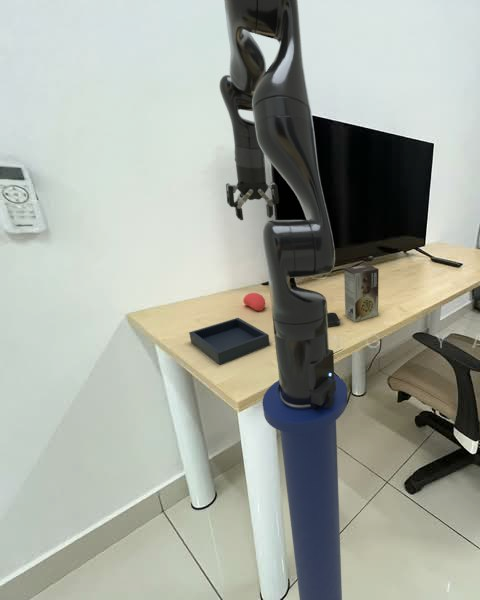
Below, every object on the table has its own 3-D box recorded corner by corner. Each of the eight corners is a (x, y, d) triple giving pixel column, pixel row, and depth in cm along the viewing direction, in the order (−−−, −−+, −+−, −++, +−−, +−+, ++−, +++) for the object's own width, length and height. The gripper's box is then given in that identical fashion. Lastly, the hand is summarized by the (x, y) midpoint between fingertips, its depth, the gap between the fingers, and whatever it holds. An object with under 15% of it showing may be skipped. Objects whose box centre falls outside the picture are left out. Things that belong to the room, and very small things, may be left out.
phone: (340, 321, 94) (288, 328, 88) (340, 325, 94) (288, 331, 88) (335, 312, 100) (286, 317, 95) (335, 315, 101) (286, 320, 95)
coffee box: (367, 309, 107) (367, 263, 101) (378, 315, 102) (379, 268, 97) (344, 315, 101) (343, 267, 95) (355, 322, 97) (354, 272, 91)
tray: (269, 345, 81) (268, 334, 80) (219, 365, 72) (217, 353, 71) (239, 327, 90) (238, 317, 89) (191, 342, 81) (188, 332, 79)
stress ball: (263, 305, 109) (253, 290, 107) (271, 304, 102) (260, 288, 100) (250, 314, 106) (239, 298, 104) (257, 313, 99) (245, 296, 97)
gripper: (227, 166, 81) (235, 225, 90) (280, 166, 90) (283, 220, 99) (218, 159, 86) (226, 215, 95) (270, 159, 94) (273, 211, 103)
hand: (255, 218), depth 97 cm, fingers open, 8 cm apart
